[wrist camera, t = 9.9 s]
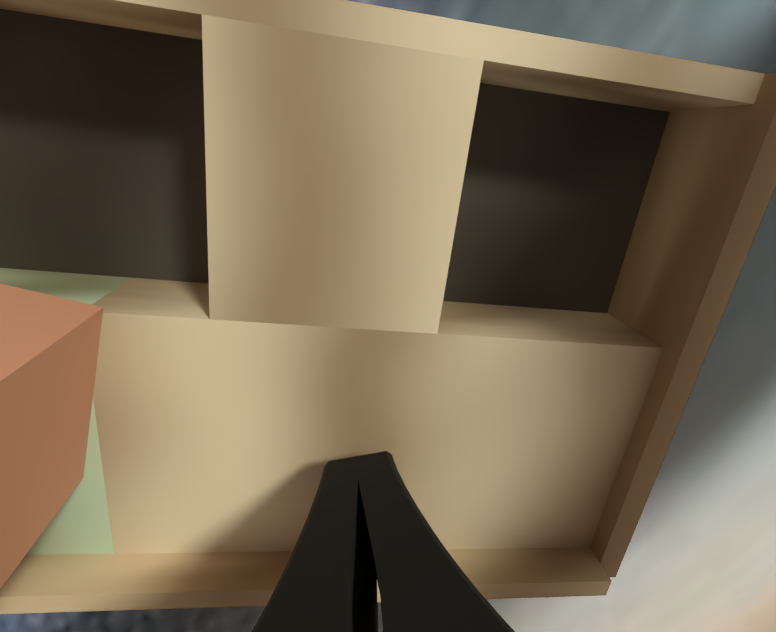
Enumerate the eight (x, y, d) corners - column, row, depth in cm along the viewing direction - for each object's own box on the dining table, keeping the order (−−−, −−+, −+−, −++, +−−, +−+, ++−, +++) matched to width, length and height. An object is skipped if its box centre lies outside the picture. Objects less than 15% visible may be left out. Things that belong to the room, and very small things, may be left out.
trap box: (694, 92, 10) (1034, 44, 5) (562, 496, 14) (684, 682, 10) (-201, -53, 8) (-1205, -427, 3) (-45, 492, 12) (-320, 748, 7)
